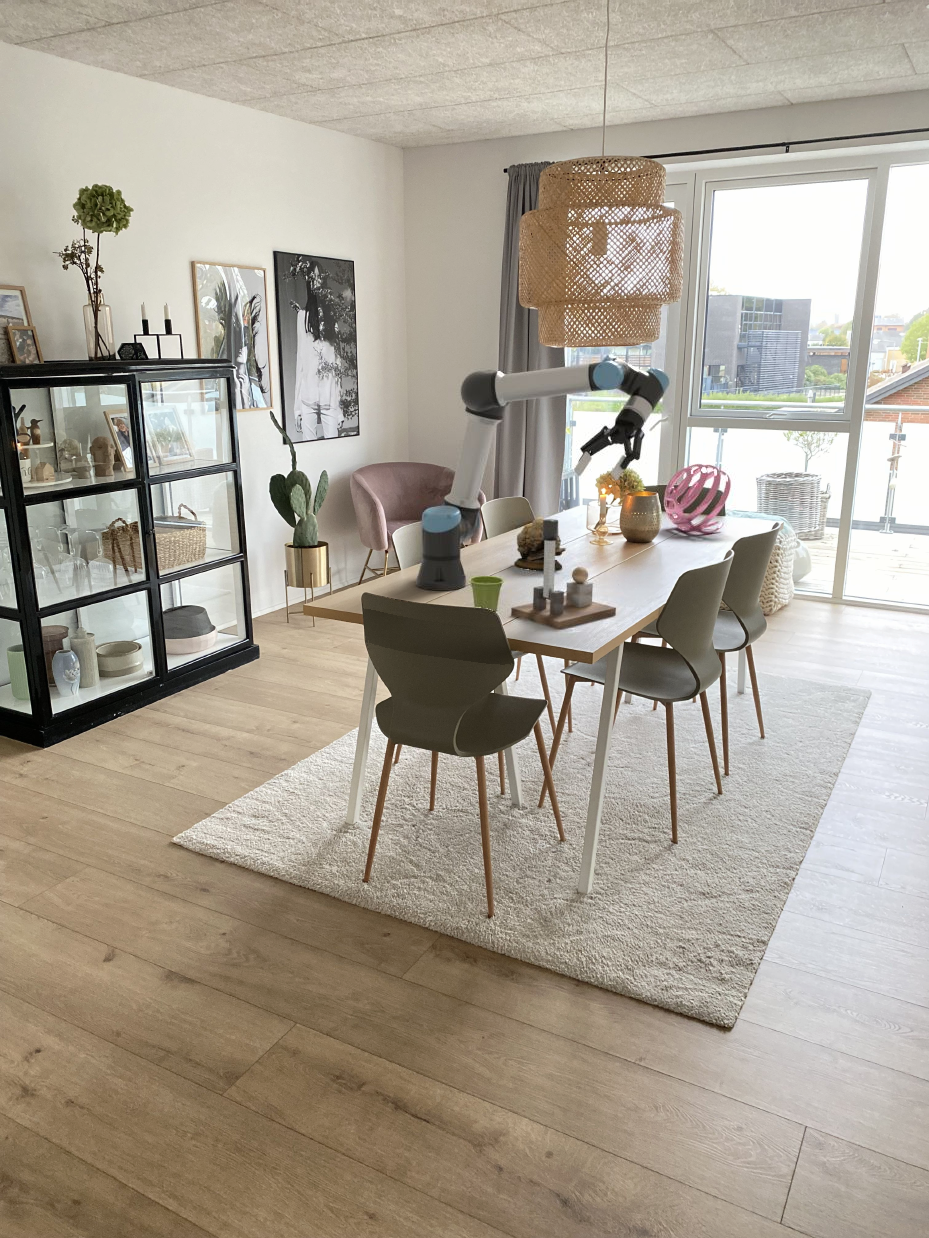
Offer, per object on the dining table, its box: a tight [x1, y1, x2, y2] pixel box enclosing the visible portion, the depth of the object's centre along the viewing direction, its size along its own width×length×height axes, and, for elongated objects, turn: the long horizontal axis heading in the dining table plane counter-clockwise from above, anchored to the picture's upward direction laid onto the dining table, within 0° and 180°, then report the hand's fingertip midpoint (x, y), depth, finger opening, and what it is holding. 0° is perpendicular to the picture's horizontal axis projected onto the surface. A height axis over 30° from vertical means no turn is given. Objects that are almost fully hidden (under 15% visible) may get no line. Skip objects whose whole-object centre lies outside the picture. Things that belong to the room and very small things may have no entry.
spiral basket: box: [663, 463, 732, 535], centre depth 375 cm, size 28×28×27 cm
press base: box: [510, 580, 617, 630], centre depth 255 cm, size 18×22×8 cm
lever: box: [542, 518, 559, 600], centre depth 248 cm, size 4×4×21 cm
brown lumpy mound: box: [513, 516, 567, 572], centre depth 312 cm, size 18×12×17 cm, turn 60°
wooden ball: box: [571, 566, 589, 583], centre depth 257 cm, size 4×4×4 cm
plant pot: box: [469, 575, 504, 612], centre depth 260 cm, size 9×9×9 cm
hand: (594, 475), depth 259 cm, fingers open, 13 cm apart
